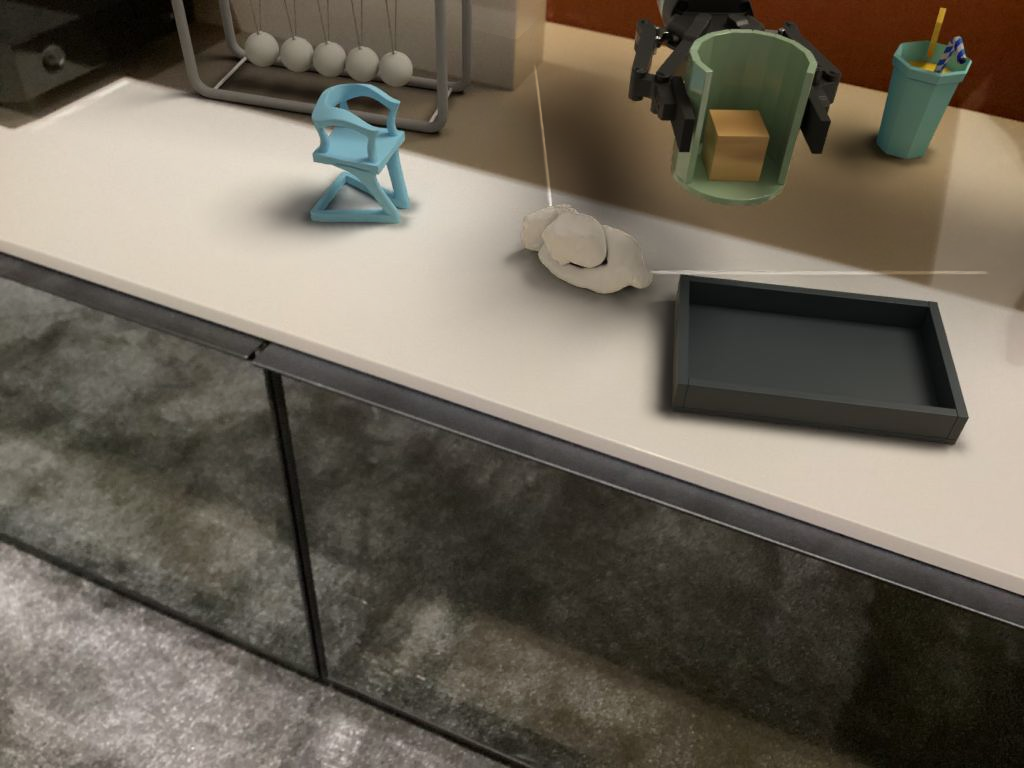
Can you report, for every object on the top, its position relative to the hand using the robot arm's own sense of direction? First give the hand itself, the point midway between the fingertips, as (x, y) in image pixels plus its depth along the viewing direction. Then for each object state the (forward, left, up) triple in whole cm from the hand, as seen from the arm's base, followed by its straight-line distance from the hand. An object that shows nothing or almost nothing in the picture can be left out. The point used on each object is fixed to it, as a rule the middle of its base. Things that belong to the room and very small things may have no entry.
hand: (754, 136), depth 70 cm
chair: (+33, -11, -18) cm, 40 cm away
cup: (-21, -31, -18) cm, 42 cm away
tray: (-8, +5, -18) cm, 20 cm away
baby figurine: (+11, -6, -18) cm, 22 cm away
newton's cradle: (+42, -32, -18) cm, 56 cm away
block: (+1, -4, -5) cm, 7 cm away
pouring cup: (+1, -4, -6) cm, 7 cm away
